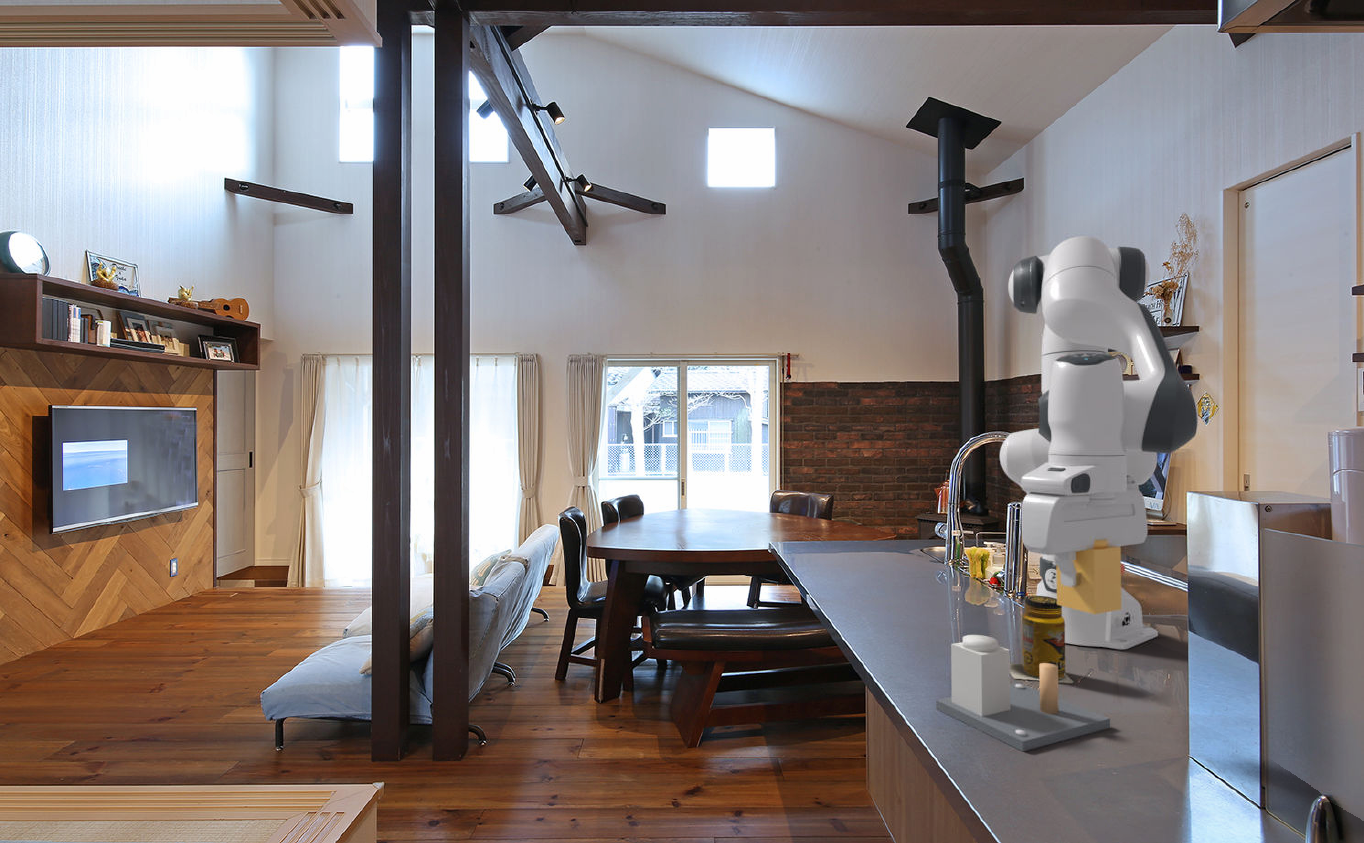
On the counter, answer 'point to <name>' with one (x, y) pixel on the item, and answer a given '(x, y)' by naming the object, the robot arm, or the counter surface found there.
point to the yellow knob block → (1094, 580)
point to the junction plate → (1011, 699)
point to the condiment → (1041, 639)
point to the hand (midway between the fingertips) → (1087, 583)
